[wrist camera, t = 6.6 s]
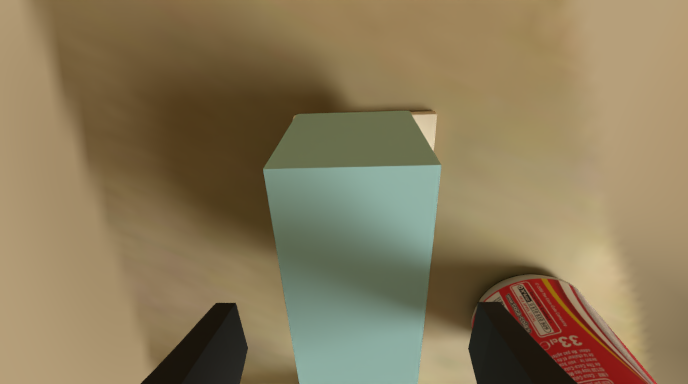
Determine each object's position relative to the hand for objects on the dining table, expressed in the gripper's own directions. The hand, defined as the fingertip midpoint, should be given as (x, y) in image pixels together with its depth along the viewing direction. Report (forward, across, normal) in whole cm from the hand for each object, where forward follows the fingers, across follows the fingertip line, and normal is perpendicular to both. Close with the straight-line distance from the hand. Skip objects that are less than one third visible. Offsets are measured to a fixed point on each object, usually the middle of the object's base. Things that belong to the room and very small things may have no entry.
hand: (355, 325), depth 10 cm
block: (+6, 0, 0) cm, 7 cm away
